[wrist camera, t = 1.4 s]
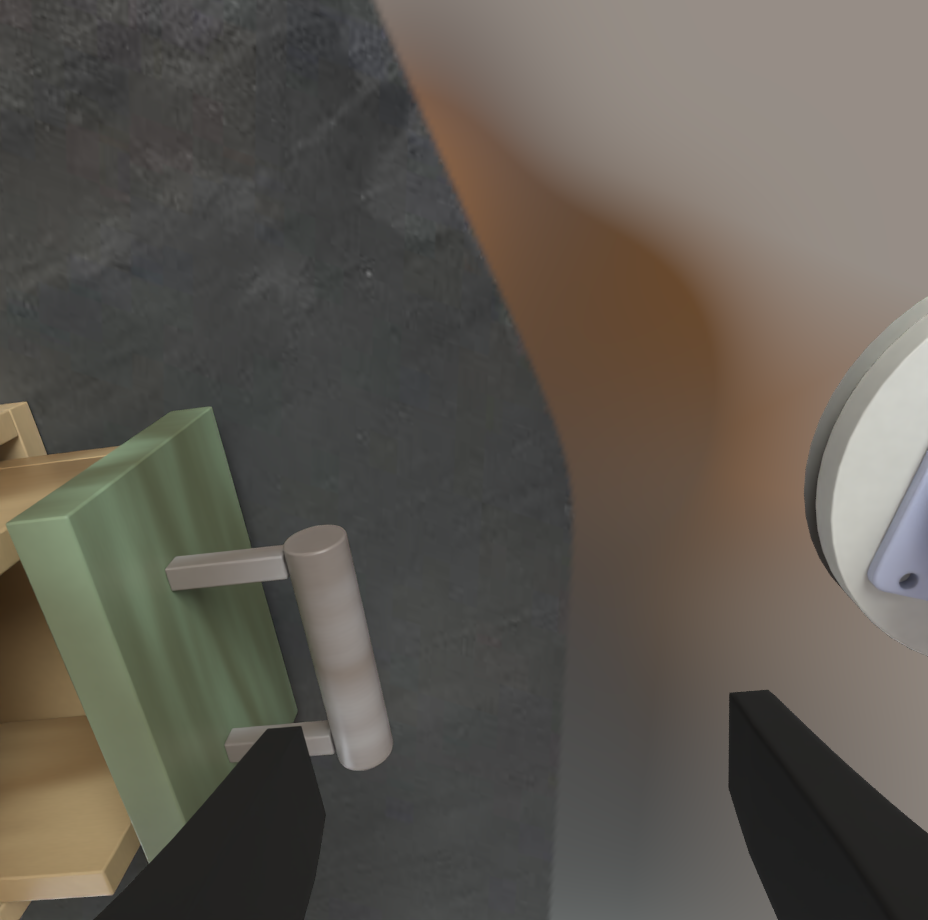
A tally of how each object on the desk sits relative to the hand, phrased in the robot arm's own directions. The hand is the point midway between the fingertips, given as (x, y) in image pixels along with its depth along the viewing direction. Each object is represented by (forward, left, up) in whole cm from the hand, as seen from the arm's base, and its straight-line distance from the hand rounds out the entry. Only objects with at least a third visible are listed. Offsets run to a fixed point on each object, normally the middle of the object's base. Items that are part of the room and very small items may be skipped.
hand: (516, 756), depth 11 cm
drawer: (+11, +5, -9) cm, 14 cm away
